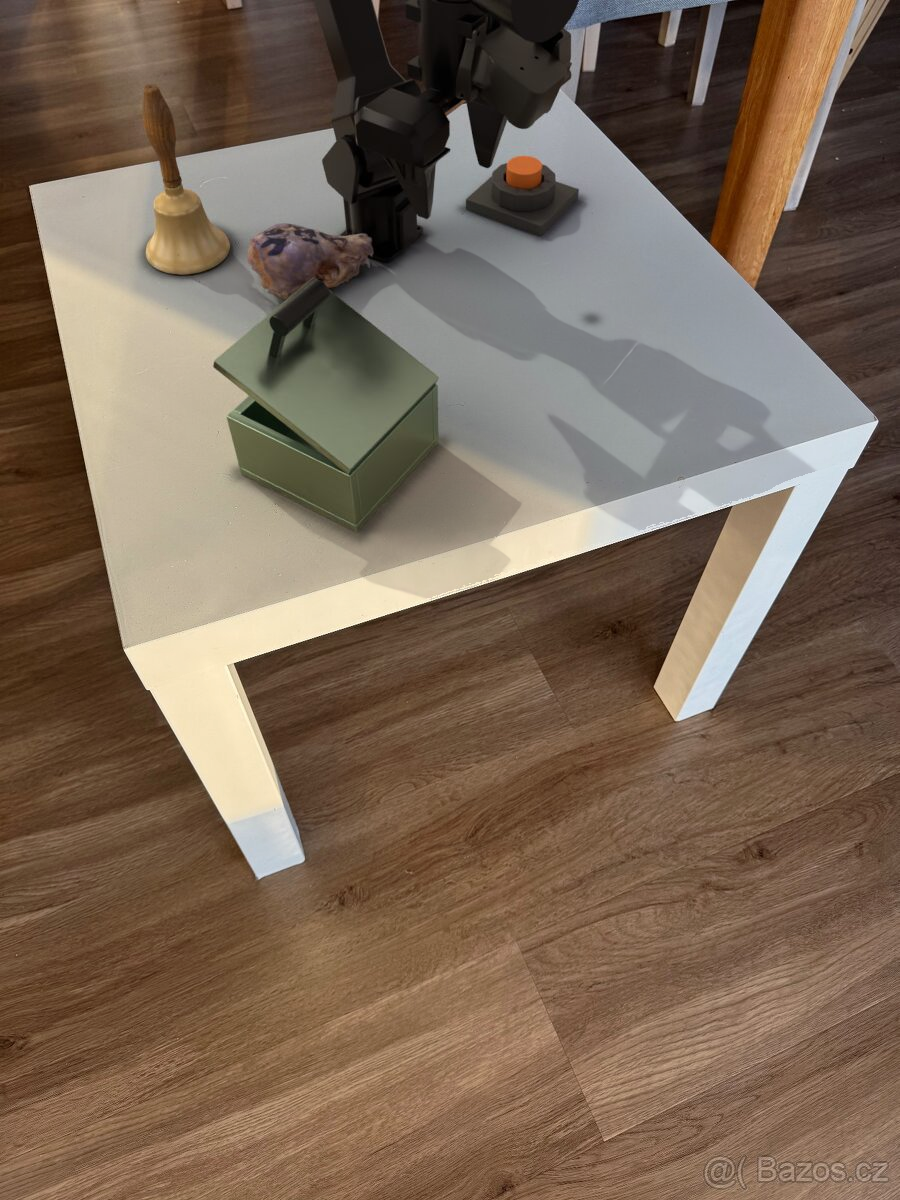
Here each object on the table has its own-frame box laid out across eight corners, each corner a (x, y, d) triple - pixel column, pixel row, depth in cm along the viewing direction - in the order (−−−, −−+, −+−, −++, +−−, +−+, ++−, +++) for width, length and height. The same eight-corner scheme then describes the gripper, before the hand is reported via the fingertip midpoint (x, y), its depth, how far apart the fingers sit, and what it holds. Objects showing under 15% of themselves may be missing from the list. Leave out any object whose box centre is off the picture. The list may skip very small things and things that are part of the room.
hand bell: (222, 220, 98) (187, 57, 85) (237, 266, 93) (203, 101, 80) (141, 235, 96) (93, 71, 83) (152, 282, 92) (103, 117, 79)
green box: (240, 474, 77) (225, 416, 72) (327, 391, 82) (318, 332, 77) (357, 533, 73) (349, 476, 68) (438, 443, 79) (438, 384, 74)
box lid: (212, 367, 68) (219, 322, 64) (311, 283, 74) (324, 237, 69) (348, 475, 68) (364, 437, 64) (436, 383, 74) (456, 343, 69)
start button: (499, 184, 97) (500, 167, 96) (517, 168, 99) (518, 151, 97) (530, 194, 96) (531, 178, 94) (547, 178, 98) (548, 161, 96)
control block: (465, 209, 99) (465, 182, 96) (504, 174, 103) (505, 147, 100) (540, 236, 96) (543, 209, 94) (577, 199, 100) (581, 172, 98)
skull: (367, 239, 95) (361, 187, 89) (386, 294, 91) (381, 243, 86) (249, 264, 93) (235, 213, 88) (263, 320, 90) (250, 270, 85)
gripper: (480, 70, 60) (474, 281, 73) (620, -33, 69) (593, 170, 82) (341, 23, 64) (358, 232, 76) (491, -69, 73) (484, 132, 85)
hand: (455, 190), depth 80 cm, fingers open, 9 cm apart
